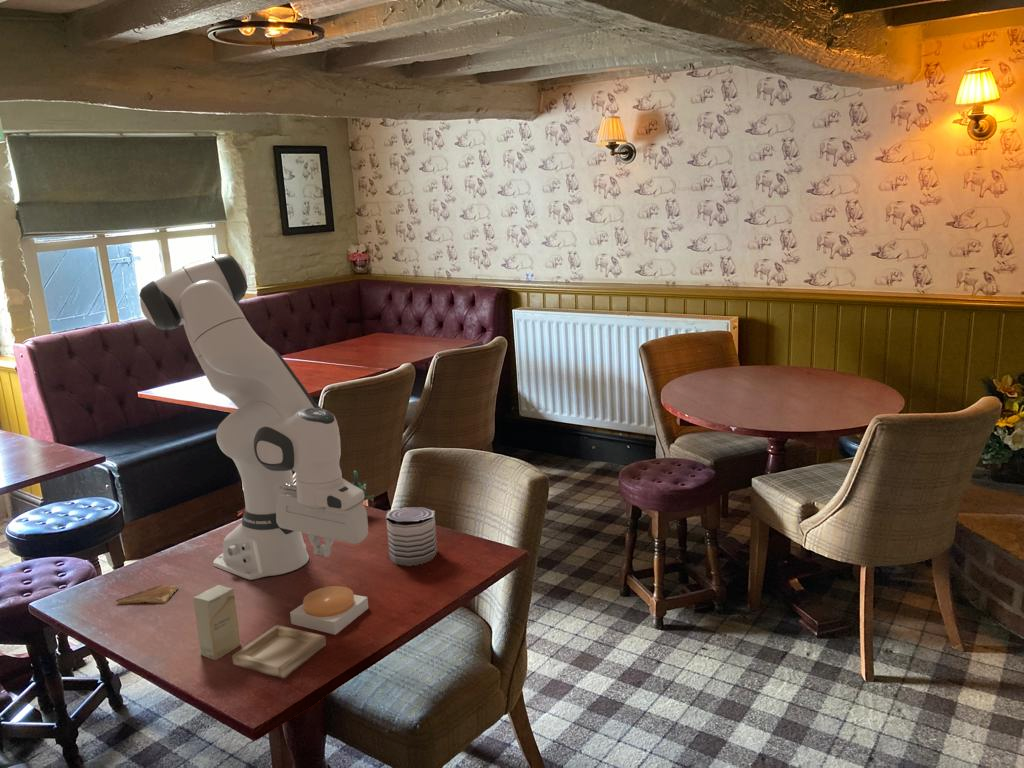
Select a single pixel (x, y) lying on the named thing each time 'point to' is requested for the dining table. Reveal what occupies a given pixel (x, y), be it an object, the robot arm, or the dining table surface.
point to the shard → (150, 595)
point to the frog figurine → (360, 485)
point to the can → (411, 535)
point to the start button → (328, 601)
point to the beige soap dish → (279, 651)
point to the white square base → (329, 617)
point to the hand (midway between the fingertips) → (322, 554)
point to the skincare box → (216, 621)
